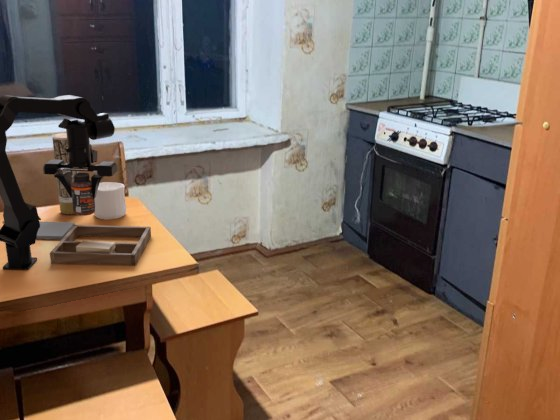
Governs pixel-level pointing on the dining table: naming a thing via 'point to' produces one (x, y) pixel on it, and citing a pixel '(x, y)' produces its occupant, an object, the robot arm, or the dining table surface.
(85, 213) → the supplement bottle
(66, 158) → the patterned tall cylinder
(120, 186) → the cup
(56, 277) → the dining table surface
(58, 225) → the mat
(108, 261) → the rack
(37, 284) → the dining table surface
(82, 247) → the offcut top
